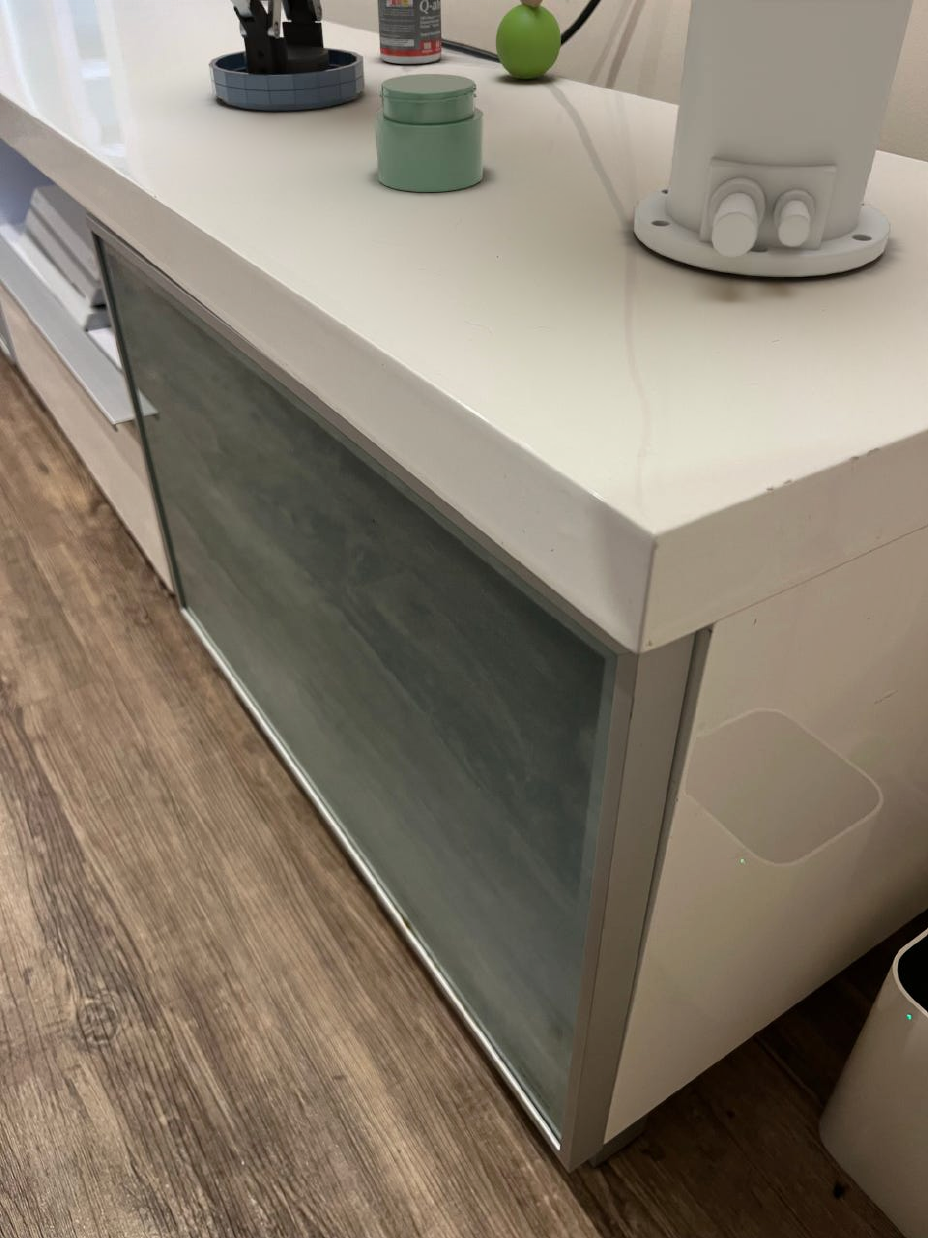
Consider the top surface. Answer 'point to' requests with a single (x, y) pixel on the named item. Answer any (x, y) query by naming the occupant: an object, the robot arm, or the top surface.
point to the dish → (287, 84)
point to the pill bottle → (410, 30)
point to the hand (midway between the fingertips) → (290, 85)
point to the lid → (305, 59)
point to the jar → (429, 133)
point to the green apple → (528, 40)
